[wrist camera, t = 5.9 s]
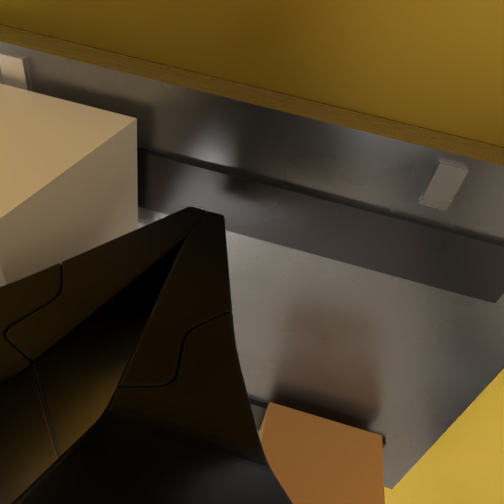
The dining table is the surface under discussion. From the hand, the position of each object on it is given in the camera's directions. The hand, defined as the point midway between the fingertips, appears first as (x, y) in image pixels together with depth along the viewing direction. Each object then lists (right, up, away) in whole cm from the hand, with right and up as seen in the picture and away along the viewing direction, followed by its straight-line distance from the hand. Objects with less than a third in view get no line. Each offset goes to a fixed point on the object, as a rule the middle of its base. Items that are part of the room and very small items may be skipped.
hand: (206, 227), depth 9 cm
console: (0, -2, +5) cm, 5 cm away
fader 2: (+3, -8, +6) cm, 10 cm away
